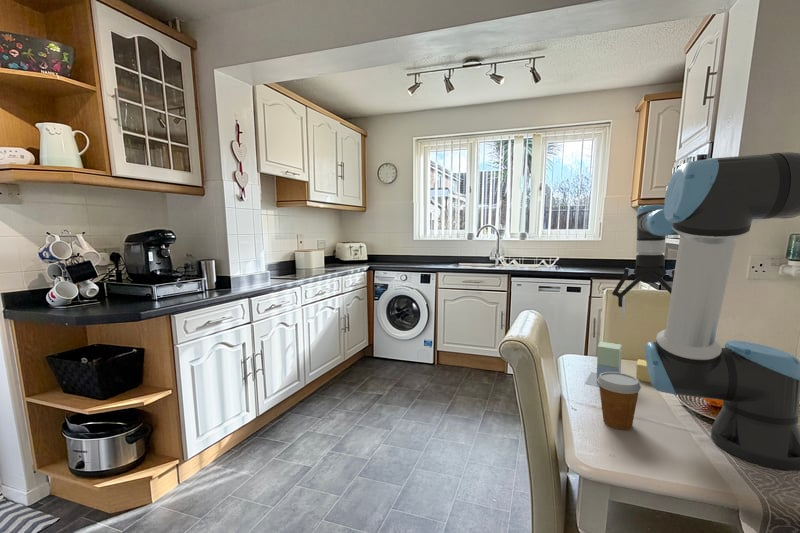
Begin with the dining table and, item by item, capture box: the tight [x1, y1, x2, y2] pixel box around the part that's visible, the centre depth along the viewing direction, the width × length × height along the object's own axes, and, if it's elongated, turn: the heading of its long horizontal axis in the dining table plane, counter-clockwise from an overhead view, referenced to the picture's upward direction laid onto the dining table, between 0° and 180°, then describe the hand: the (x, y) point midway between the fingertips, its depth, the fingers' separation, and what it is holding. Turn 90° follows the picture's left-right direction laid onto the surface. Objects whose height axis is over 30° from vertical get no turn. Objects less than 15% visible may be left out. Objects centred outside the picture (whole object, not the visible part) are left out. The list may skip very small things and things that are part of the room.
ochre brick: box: [635, 358, 651, 383], centre depth 115 cm, size 6×6×6 cm
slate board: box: [584, 371, 599, 388], centre depth 114 cm, size 12×12×1 cm
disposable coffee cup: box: [597, 372, 642, 431], centre depth 90 cm, size 10×10×12 cm
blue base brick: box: [596, 363, 622, 383], centre depth 113 cm, size 6×6×6 cm
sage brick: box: [596, 341, 623, 368], centre depth 113 cm, size 6×6×6 cm
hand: (648, 319), depth 114 cm, fingers open, 13 cm apart
